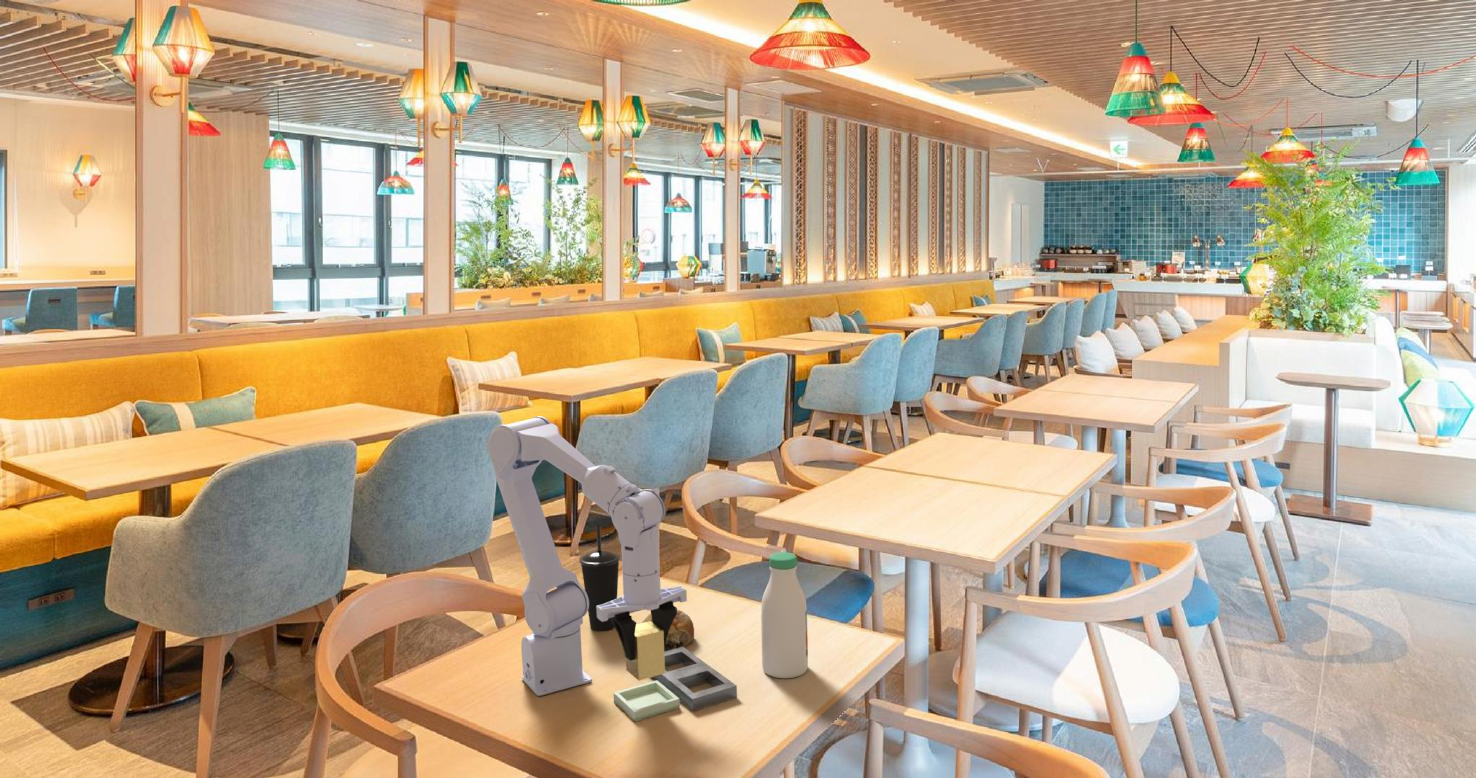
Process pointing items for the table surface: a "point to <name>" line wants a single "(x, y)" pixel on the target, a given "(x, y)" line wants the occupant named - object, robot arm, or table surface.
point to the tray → (646, 700)
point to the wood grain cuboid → (647, 652)
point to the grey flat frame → (695, 680)
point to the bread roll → (678, 631)
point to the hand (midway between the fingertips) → (644, 653)
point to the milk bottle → (784, 620)
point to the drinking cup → (600, 581)
